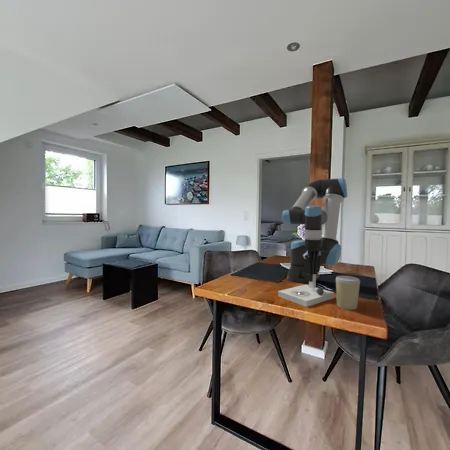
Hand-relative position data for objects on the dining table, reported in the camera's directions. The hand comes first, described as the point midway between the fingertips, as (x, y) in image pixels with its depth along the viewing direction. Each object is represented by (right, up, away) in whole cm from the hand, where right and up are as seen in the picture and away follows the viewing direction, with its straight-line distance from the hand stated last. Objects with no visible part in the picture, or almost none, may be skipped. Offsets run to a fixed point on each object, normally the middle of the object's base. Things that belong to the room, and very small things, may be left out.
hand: (312, 287), depth 122 cm
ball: (+1, 0, -7) cm, 7 cm away
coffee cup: (+10, -5, -14) cm, 18 cm away
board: (-4, -4, -3) cm, 6 cm away
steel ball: (-7, -2, -5) cm, 9 cm away
